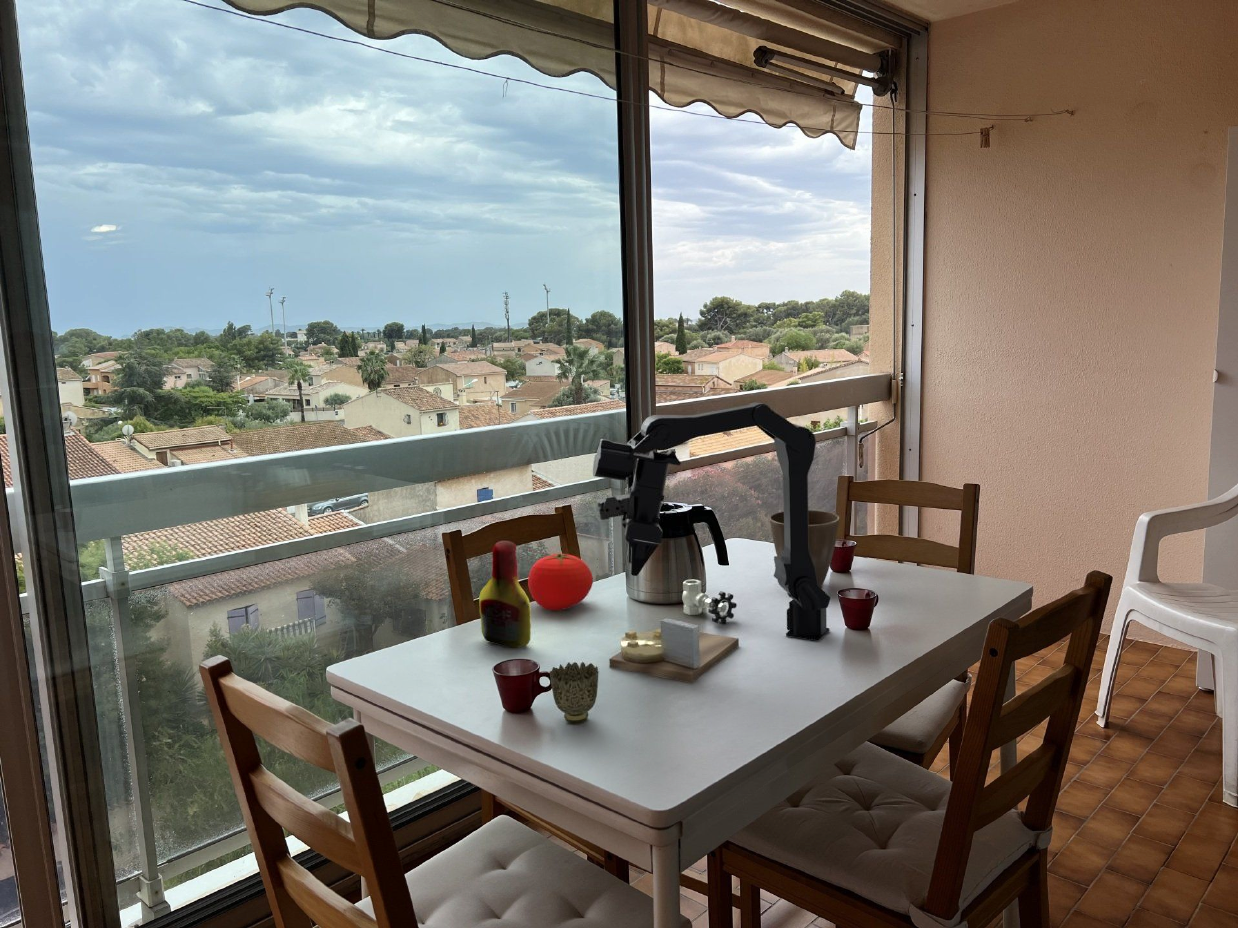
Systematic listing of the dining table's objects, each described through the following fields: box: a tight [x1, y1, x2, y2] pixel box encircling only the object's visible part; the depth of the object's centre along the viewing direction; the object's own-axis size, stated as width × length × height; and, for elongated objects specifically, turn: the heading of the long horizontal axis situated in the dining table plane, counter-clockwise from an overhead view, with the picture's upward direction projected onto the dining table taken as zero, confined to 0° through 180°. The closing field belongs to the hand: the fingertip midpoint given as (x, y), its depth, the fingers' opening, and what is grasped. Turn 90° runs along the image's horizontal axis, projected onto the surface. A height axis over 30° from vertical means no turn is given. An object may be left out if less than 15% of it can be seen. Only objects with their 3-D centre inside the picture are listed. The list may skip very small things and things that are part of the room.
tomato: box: [527, 553, 594, 611], centre depth 193 cm, size 13×14×12 cm
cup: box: [549, 661, 600, 725], centre depth 137 cm, size 8×7×8 cm
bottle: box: [478, 540, 532, 649], centre depth 171 cm, size 12×6×20 cm, turn 48°
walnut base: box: [608, 626, 740, 684], centre depth 162 cm, size 16×19×2 cm
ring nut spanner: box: [620, 617, 700, 668], centre depth 157 cm, size 16×9×7 cm, turn 48°
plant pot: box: [769, 509, 840, 589], centre depth 199 cm, size 15×15×16 cm
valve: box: [681, 579, 738, 626], centre depth 183 cm, size 7×7×12 cm
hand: (632, 569), depth 164 cm, fingers open, 9 cm apart
